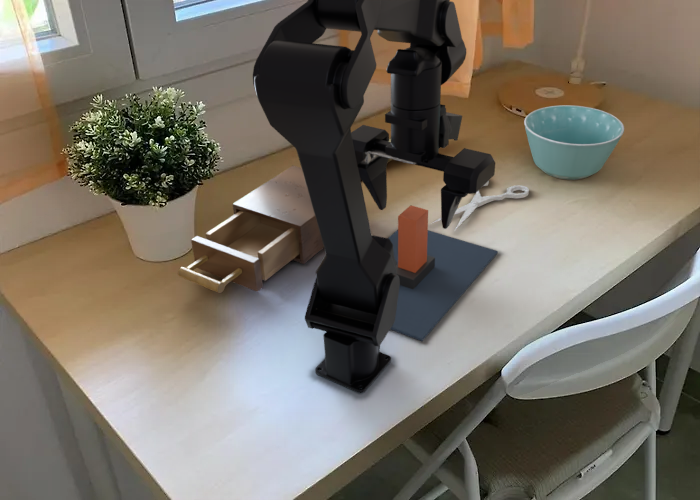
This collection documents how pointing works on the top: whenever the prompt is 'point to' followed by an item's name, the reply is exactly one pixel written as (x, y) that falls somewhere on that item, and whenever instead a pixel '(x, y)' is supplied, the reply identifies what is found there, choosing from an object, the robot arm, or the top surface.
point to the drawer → (242, 252)
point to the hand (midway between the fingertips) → (413, 217)
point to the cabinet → (286, 208)
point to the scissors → (481, 201)
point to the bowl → (571, 139)
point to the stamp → (413, 247)
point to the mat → (438, 283)
